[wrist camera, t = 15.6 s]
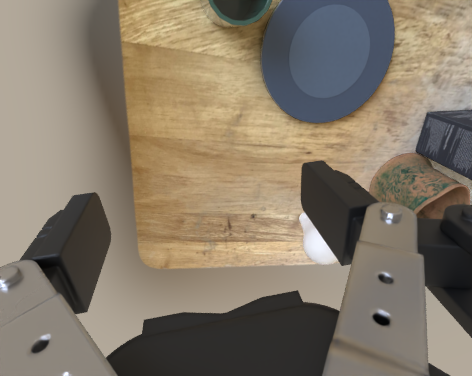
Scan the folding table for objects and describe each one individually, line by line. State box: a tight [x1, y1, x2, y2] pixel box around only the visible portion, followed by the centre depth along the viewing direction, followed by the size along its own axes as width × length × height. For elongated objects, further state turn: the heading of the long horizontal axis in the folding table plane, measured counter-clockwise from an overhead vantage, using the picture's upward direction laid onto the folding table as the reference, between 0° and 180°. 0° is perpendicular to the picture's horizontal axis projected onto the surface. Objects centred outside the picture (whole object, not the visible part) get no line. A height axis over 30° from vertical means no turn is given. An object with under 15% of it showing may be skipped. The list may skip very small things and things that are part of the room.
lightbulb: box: [299, 212, 338, 265], centre depth 46 cm, size 6×6×11 cm
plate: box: [261, 0, 395, 123], centre depth 38 cm, size 18×18×1 cm
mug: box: [369, 153, 470, 219], centre depth 47 cm, size 12×18×12 cm, turn 34°
